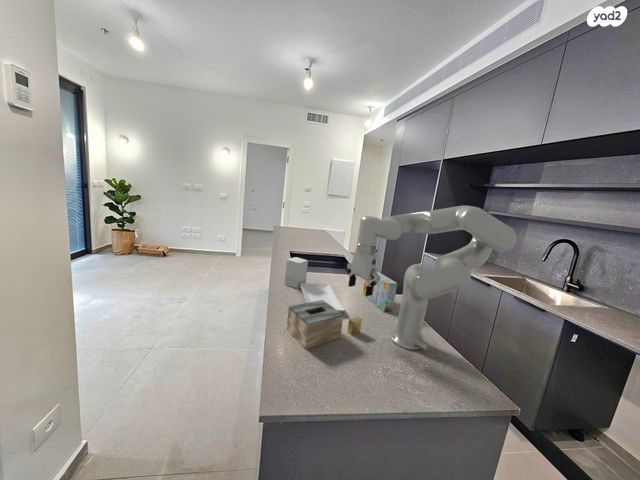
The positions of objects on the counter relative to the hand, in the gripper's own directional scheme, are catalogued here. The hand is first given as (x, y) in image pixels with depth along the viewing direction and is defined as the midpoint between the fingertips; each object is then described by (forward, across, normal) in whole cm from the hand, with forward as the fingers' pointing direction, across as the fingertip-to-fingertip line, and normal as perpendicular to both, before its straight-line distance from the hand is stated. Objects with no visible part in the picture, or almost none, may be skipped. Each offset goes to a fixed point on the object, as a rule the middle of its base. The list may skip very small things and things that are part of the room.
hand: (359, 290), depth 105 cm
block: (+18, 0, 0) cm, 18 cm away
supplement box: (+18, +53, -3) cm, 56 cm away
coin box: (+18, +6, +16) cm, 25 cm away
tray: (+19, +30, -4) cm, 36 cm away
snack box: (+18, +17, -32) cm, 41 cm away
